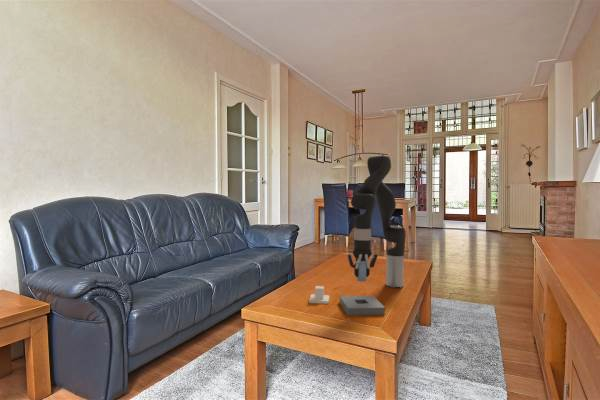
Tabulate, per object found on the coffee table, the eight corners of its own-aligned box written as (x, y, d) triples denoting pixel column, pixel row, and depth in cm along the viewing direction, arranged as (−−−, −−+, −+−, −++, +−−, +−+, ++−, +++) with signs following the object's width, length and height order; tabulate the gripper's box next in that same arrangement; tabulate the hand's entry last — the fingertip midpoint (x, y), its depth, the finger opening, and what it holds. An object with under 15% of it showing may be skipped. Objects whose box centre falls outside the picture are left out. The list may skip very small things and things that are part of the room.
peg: (356, 279, 149) (356, 259, 149) (364, 279, 150) (365, 259, 149) (358, 281, 145) (358, 261, 145) (367, 281, 146) (367, 261, 145)
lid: (311, 297, 163) (311, 284, 163) (329, 298, 162) (329, 285, 162) (309, 303, 154) (309, 289, 154) (328, 304, 153) (328, 290, 153)
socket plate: (339, 302, 155) (339, 296, 155) (372, 301, 156) (372, 295, 156) (348, 315, 139) (348, 308, 139) (384, 314, 141) (384, 307, 140)
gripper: (375, 237, 151) (374, 274, 152) (344, 237, 150) (344, 274, 150) (380, 239, 144) (380, 278, 144) (348, 239, 142) (348, 279, 143)
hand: (361, 276), depth 147 cm, fingers closed on peg, 4 cm apart
